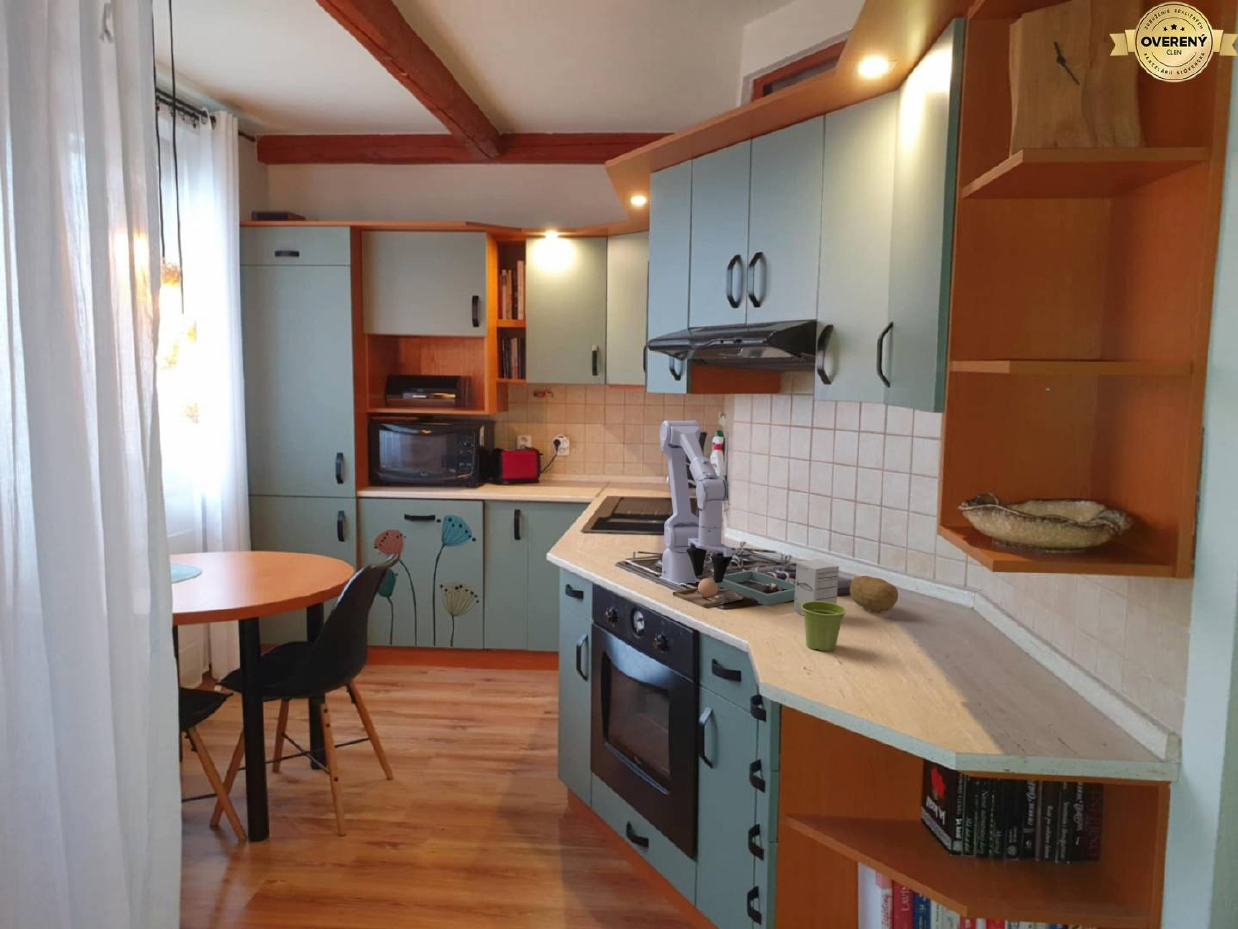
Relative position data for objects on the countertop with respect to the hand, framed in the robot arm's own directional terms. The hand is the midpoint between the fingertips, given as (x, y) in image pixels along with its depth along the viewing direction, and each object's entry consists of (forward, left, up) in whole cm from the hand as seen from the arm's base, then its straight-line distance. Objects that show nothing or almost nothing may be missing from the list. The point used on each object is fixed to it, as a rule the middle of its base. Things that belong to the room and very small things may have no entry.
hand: (708, 579), depth 208 cm
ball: (0, 0, -5) cm, 5 cm away
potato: (+28, +29, -6) cm, 41 cm away
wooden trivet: (0, 0, -5) cm, 5 cm away
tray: (+3, +15, -5) cm, 16 cm away
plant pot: (+39, -2, -6) cm, 39 cm away
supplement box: (+23, +14, -6) cm, 27 cm away
